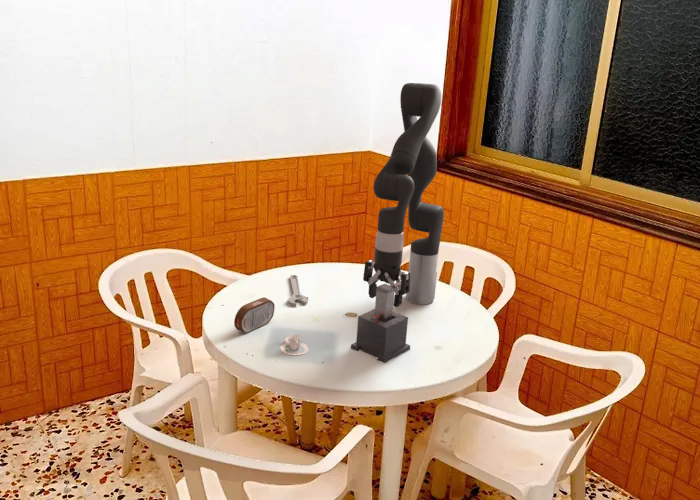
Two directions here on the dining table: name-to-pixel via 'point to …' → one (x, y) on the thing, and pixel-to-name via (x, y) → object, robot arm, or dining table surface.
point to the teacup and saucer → (294, 344)
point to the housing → (381, 336)
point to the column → (384, 302)
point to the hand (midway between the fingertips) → (384, 301)
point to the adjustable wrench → (296, 293)
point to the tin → (254, 315)
